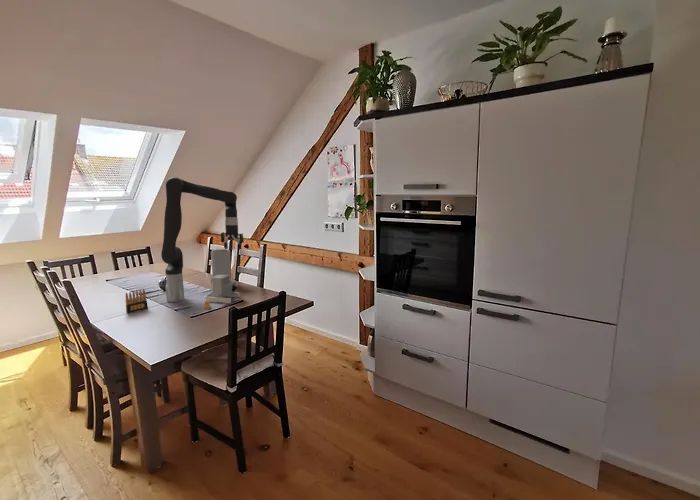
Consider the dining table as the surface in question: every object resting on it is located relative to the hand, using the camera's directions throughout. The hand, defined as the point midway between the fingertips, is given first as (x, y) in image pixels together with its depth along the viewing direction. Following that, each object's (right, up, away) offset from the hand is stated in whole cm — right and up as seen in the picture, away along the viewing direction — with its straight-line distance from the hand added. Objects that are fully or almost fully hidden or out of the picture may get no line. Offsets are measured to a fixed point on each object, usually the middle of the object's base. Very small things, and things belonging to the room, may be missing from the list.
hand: (232, 249), depth 228 cm
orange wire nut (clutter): (-9, -34, -17) cm, 40 cm away
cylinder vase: (-15, -26, +25) cm, 39 cm away
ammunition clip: (-47, -35, -23) cm, 63 cm away
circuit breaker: (-3, -32, -4) cm, 32 cm away
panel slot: (-4, -32, -3) cm, 32 cm away
